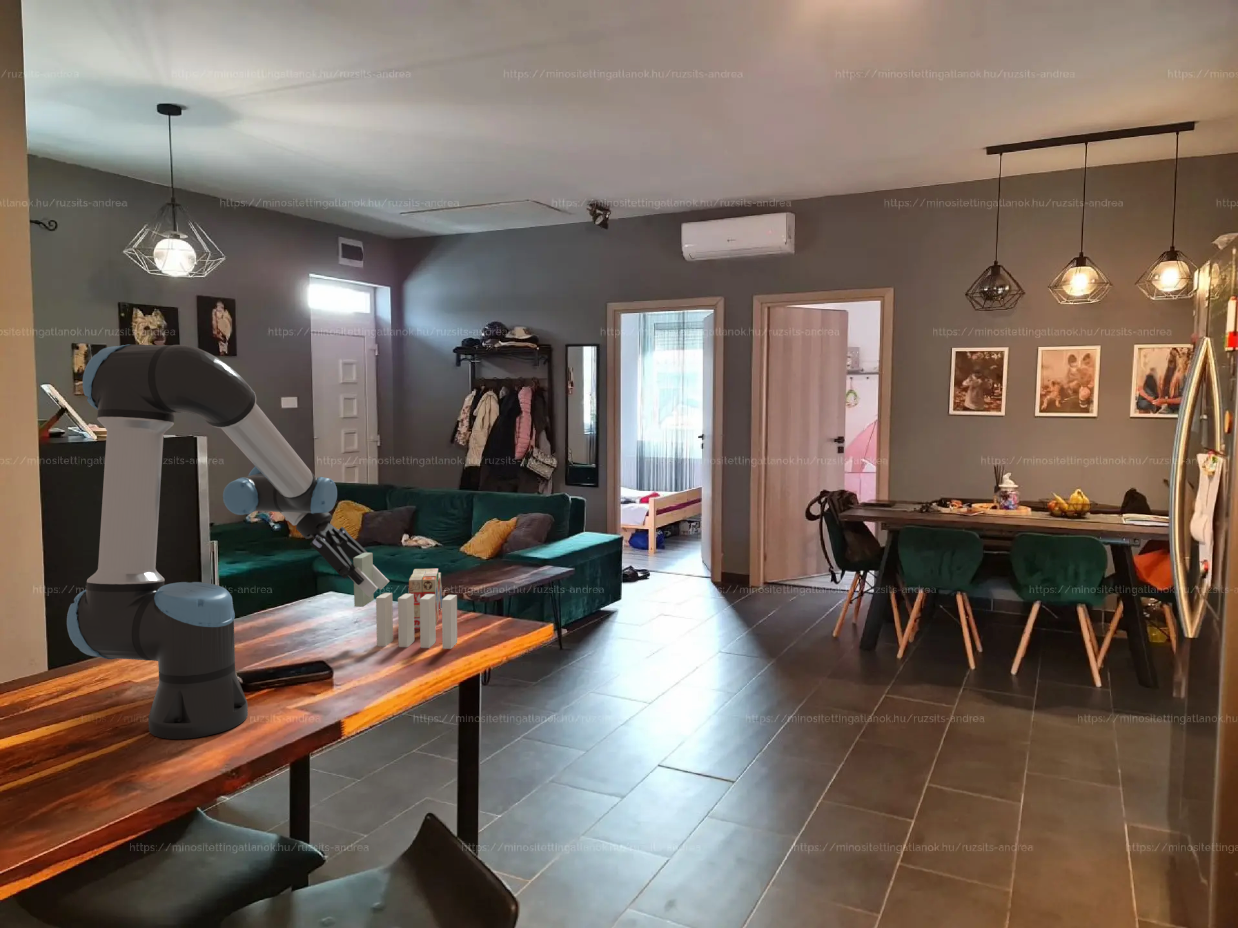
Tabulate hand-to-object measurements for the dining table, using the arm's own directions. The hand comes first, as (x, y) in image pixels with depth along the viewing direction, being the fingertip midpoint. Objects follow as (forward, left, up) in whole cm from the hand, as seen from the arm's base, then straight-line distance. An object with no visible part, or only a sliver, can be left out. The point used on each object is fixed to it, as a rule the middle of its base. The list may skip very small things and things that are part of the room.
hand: (379, 588), depth 188 cm
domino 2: (+4, -5, -12) cm, 14 cm away
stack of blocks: (+19, +12, -13) cm, 26 cm away
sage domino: (-2, +3, -3) cm, 5 cm away
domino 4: (+10, -13, -12) cm, 21 cm away
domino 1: (0, -1, -12) cm, 12 cm away
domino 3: (+7, -9, -12) cm, 17 cm away
